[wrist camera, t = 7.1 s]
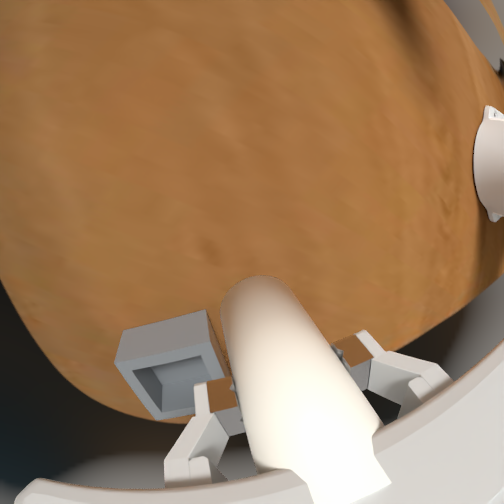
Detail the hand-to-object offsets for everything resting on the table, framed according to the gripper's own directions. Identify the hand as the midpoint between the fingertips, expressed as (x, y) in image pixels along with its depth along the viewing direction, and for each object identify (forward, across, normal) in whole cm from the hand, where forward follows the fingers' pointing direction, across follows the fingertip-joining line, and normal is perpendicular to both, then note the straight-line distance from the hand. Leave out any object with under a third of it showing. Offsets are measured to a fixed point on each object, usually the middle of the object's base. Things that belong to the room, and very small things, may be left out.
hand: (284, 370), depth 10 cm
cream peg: (+5, 0, 0) cm, 5 cm away
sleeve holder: (+15, +8, +10) cm, 20 cm away
